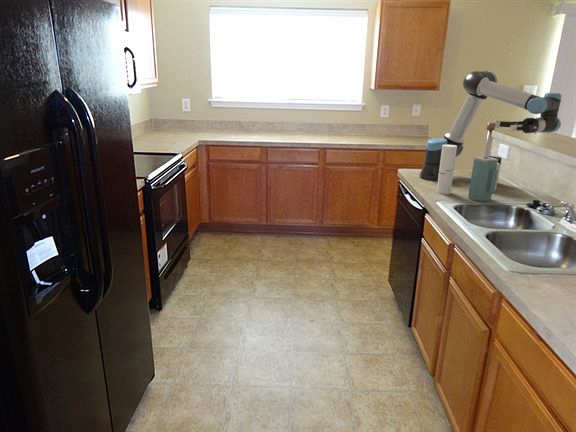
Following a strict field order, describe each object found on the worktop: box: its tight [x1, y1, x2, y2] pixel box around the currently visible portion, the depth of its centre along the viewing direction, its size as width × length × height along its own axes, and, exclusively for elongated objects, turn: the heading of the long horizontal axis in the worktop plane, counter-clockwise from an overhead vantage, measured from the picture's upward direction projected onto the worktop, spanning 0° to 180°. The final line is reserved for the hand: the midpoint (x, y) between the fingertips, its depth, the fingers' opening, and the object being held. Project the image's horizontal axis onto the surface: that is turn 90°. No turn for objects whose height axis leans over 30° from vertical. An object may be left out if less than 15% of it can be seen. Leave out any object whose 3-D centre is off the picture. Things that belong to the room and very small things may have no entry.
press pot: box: [467, 156, 499, 203], centre depth 217 cm, size 13×11×21 cm
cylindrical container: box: [436, 145, 457, 195], centre depth 229 cm, size 7×7×25 cm
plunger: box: [483, 122, 496, 159], centre depth 214 cm, size 7×7×25 cm
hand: (499, 126), depth 211 cm, fingers open, 13 cm apart
